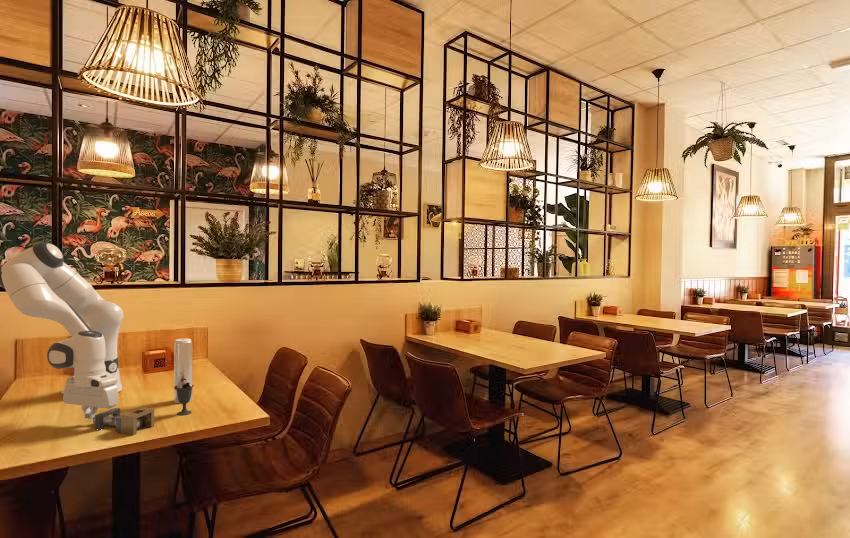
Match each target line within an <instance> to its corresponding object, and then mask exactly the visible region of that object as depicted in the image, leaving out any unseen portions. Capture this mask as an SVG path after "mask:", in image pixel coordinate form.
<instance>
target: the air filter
mask: <svg viewBox="0 0 850 538" xmlns="http://www.w3.org/2000/svg"><path fill="white" fill-rule="evenodd" d="M173 345H174V346H173V347H174V348H173V351H174V353H173V359H174V360H173V361H174V362H173V363H174V365H173V366H174V367H173V368H174V369H173V371H174V372H173V373H174V374H173V377H174V378H173V379H174V380H173V382H174V383H173V384H174V385H173V389H174V387H175V386H178V384H179V382H180V381H181V378H182V375H183V378H184V379H187V380H188V381H189V383H190V384H192V385H193V340H192V339H191V338H177V339H175V340H174V343H173ZM180 373H182V374H180ZM173 396H174V398H173V401H174V403H175V404H181V403H180V402H179V401H178V396H177V391H176V389H174V393H173ZM192 401H193V392H192V393H191V399H190V401H189V402H188V403H191V402H192Z"/></svg>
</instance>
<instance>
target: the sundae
mask: <svg viewBox="0 0 850 538" xmlns="http://www.w3.org/2000/svg"><path fill="white" fill-rule="evenodd" d="M180 374H182V373H180ZM194 387H195V385H194V384H193V383H192V384H190V383H189V381H188V380H187V379H184V378H183V375H182V378H181V381H180V382H179V384H178V386H175V387H174V386H173V389H176V391H177V396H178V401H179V402H180V403H179V404H181V405H182V409H181V411H178V412H177V413H176V415H177V416H187V415H191V414H192V412H193V411H192V410H188V408H187V404H188V403H190V402H191V401H190V399H191V393H192V394H193V388H194ZM189 401H190V402H189Z"/></svg>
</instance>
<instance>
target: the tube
mask: <svg viewBox="0 0 850 538" xmlns="http://www.w3.org/2000/svg"><path fill="white" fill-rule="evenodd" d="M116 417H118V416H112V415H109V416H106V417H103V426H109V427H116ZM92 423H93V424H94V425H95V416H94V418H93V419H92ZM136 425H137V430H139V429H141V428H142V427H143V420H142V419H136Z"/></svg>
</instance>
